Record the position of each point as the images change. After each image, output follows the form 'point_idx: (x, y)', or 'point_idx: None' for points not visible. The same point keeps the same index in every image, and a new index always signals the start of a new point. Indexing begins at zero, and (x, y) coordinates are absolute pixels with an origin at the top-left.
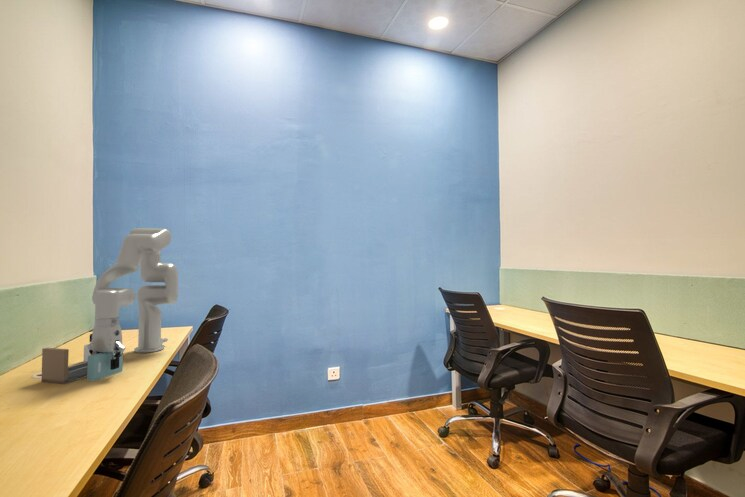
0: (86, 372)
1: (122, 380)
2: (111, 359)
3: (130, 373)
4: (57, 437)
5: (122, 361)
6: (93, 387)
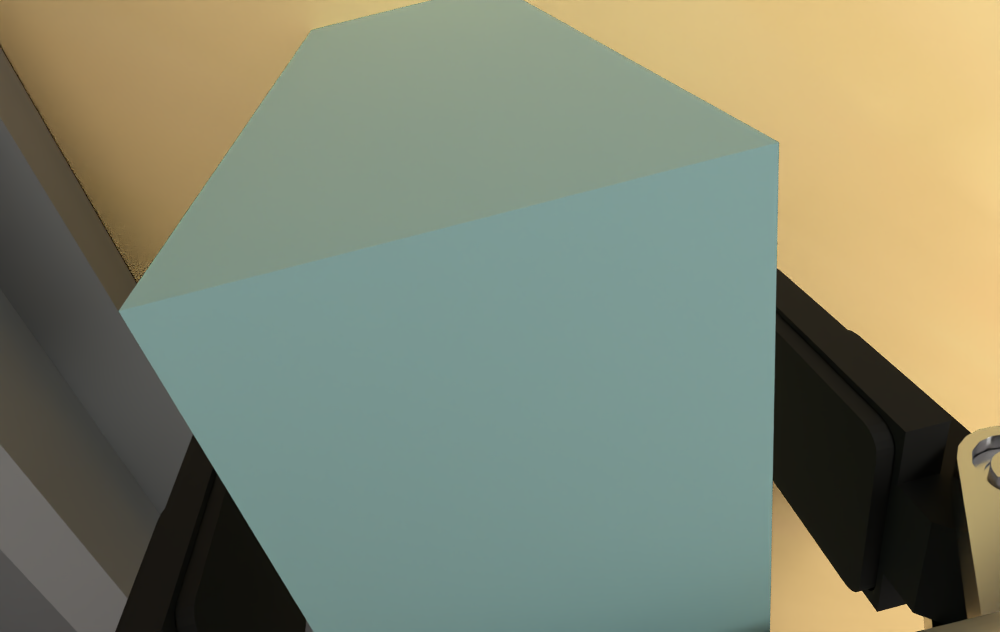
0: (153, 493)
1: (968, 307)
2: (897, 603)
3: (824, 12)
4: None
5: (547, 18)
6: (809, 567)
